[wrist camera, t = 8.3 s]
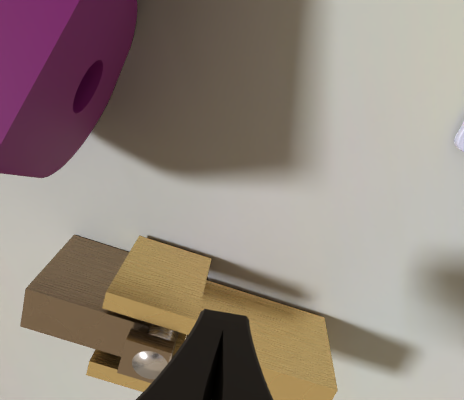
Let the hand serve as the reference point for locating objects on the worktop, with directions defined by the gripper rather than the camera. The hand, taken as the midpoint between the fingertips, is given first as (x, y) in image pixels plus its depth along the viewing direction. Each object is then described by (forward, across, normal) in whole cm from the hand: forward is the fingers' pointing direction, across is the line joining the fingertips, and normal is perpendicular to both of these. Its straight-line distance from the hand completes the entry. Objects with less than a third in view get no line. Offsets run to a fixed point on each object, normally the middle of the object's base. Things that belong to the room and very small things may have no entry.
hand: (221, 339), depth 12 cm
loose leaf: (+10, 0, +6) cm, 11 cm away
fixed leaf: (+10, +5, +5) cm, 12 cm away
